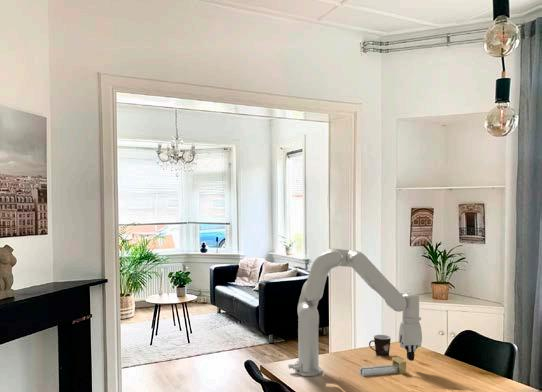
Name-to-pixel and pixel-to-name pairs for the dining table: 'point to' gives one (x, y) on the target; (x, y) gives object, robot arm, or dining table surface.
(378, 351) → the coffee mug
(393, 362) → the beige textured block
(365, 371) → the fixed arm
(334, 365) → the dining table surface
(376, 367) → the grey rod
